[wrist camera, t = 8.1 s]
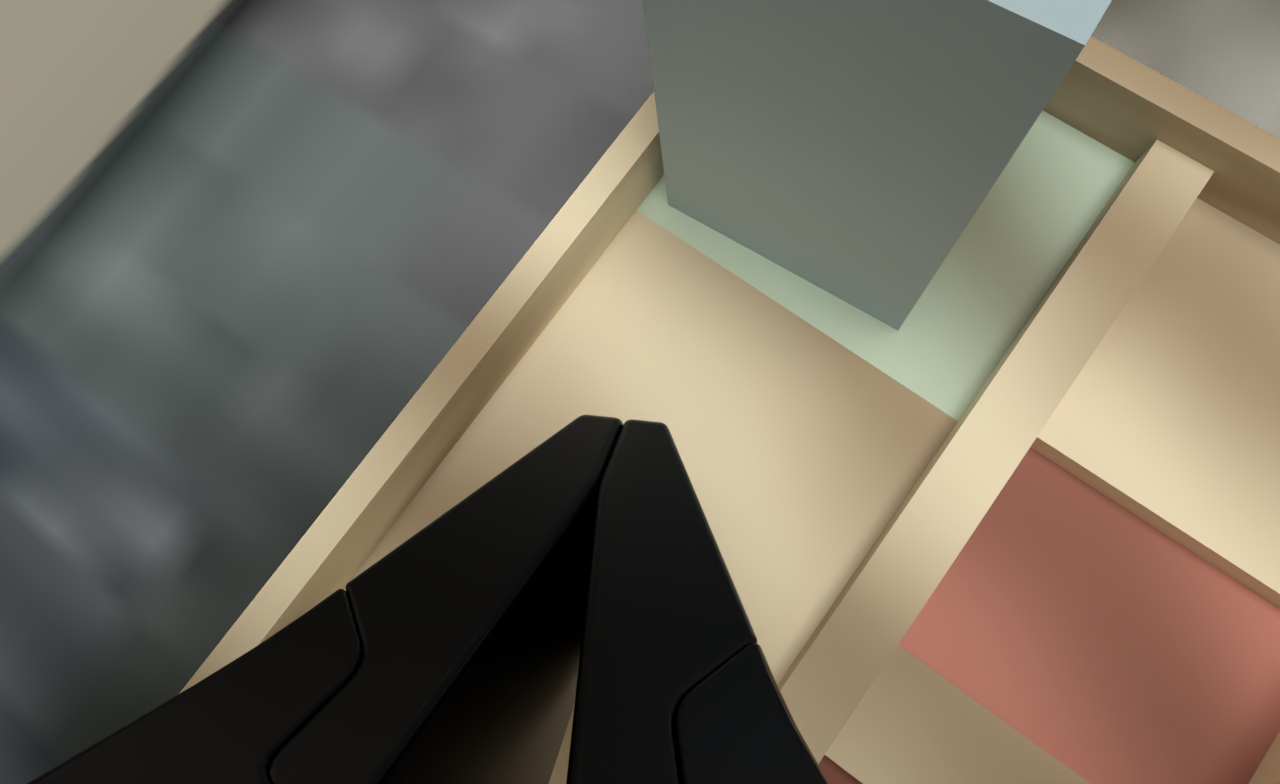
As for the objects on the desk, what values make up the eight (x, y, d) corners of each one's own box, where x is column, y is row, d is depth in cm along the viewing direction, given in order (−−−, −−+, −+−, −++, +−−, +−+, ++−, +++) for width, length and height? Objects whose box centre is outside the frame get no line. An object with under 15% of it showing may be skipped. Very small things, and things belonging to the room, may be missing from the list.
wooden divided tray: (783, 1617, 12) (799, 1864, 10) (80, 914, 15) (-42, 974, 13) (1507, 384, 15) (1658, 343, 13) (801, -17, 18) (814, -114, 16)
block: (898, 330, 15) (1084, 46, 7) (667, 205, 16) (622, -169, 8) (1024, 117, 16) (1316, -349, 8) (797, 6, 17) (867, -509, 9)
